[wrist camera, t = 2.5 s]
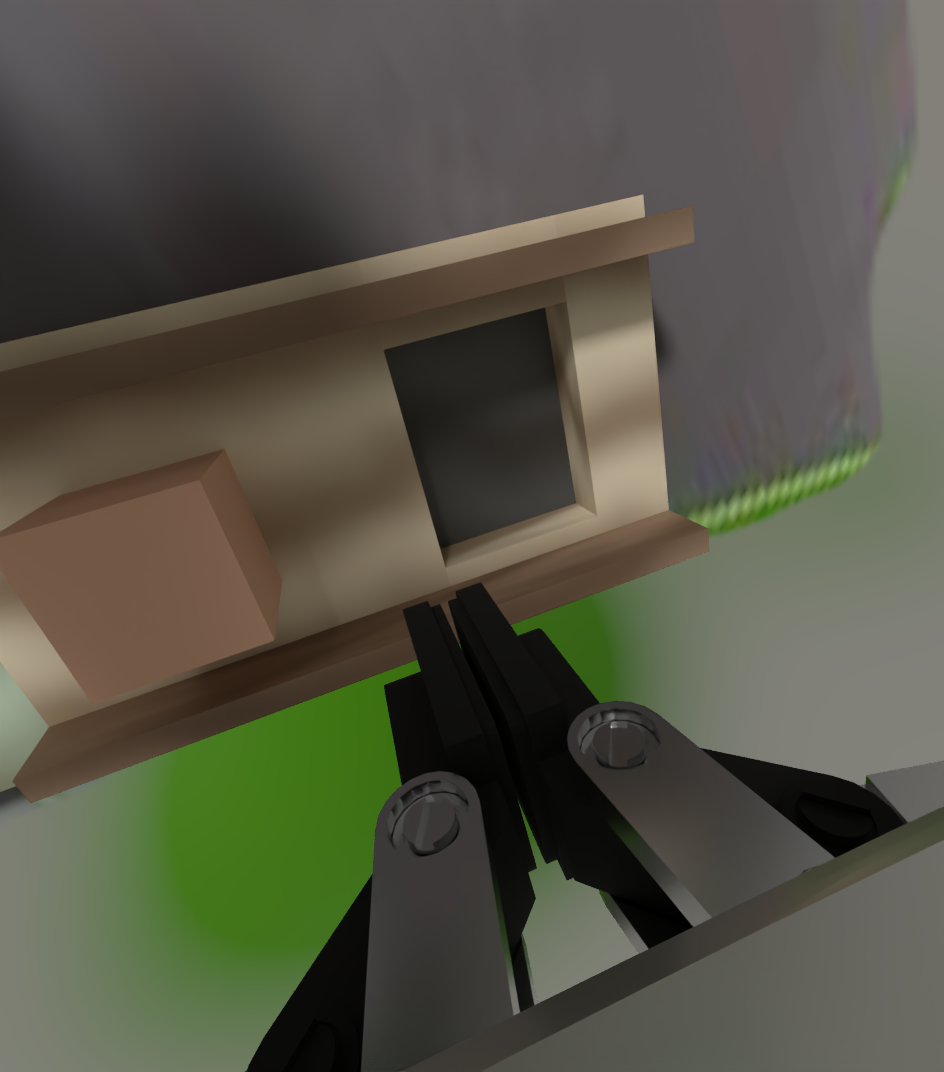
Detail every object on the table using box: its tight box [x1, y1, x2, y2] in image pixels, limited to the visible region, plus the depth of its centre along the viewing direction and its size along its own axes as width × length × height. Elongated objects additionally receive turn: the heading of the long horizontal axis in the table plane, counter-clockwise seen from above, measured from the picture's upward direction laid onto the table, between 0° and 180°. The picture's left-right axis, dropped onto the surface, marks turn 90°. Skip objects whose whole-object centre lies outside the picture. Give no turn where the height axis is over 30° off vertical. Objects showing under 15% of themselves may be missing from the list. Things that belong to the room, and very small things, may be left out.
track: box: [0, 195, 709, 803], centre depth 21 cm, size 16×40×6 cm, turn 104°
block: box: [0, 449, 282, 704], centre depth 19 cm, size 6×6×5 cm
